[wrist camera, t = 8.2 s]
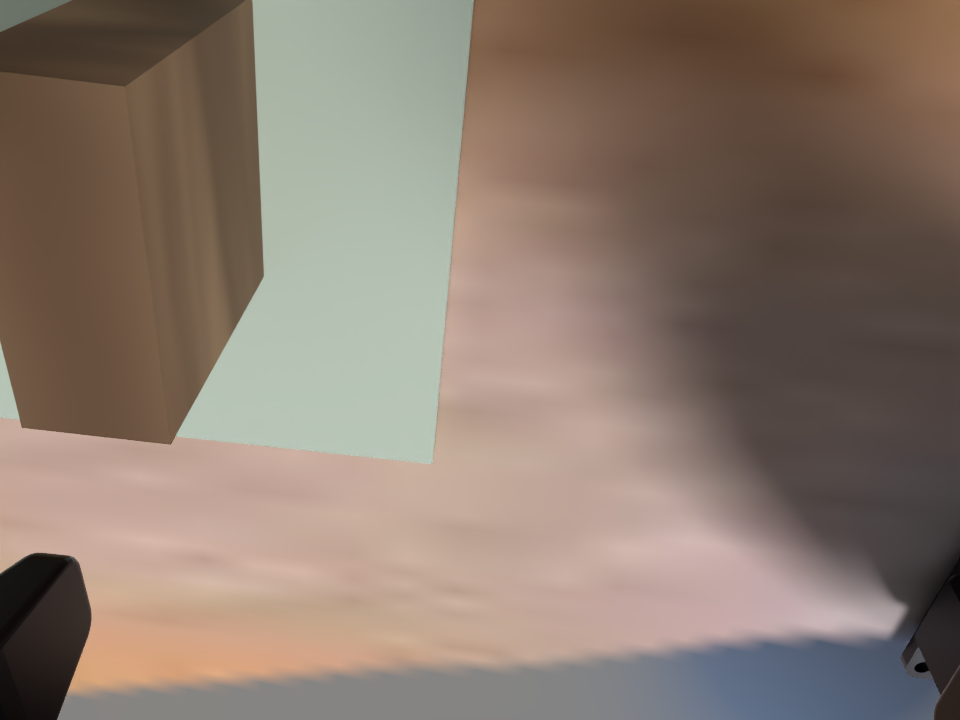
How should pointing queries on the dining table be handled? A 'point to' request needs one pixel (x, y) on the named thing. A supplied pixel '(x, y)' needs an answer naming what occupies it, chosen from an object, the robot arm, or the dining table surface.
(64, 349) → the walnut slab
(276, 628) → the dining table surface
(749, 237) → the dining table surface
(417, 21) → the mat
